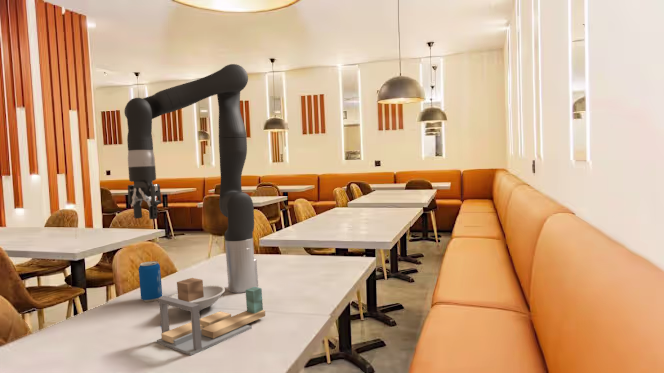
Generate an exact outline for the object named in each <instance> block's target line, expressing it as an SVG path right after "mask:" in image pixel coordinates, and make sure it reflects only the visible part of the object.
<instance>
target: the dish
mask: <svg viewBox="0 0 664 373" xmlns="http://www.w3.org/2000/svg"><path fill="white" fill-rule="evenodd" d="M225 291H226V288H225V287H224V286H223V285H214V284H213V285H211V284H210V285H203V293H204V297H202V298H199V299H196V300H193V301H190V302H191V303H195V304H199V305H200V309H199V312H200V311H201V312H202V310H203V309H206V308H208V307H210V306H213V304H215V303H216V302H217V301H218V300H219V299H220V298H221V296H222V294H224V293H225ZM170 297H171V298H175V299H178V292H177V293H175V294H172V295H170ZM179 309H180V310H182V311H188V310H184V309H181V308H179ZM188 312H189V311H188Z"/></svg>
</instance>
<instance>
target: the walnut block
mask: <svg viewBox="0 0 664 373" xmlns="http://www.w3.org/2000/svg"><path fill="white" fill-rule="evenodd" d="M203 281H204V280H203V279H200V278H196V277H190V278H187V279H183V280H179V281H176V289H177V293H178V299H179V300H183V301H187V302H190V301H193V300H196V299H199V298H202V297H204V293H203V286H204V282H203Z"/></svg>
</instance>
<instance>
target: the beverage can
mask: <svg viewBox="0 0 664 373" xmlns="http://www.w3.org/2000/svg"><path fill="white" fill-rule="evenodd" d="M161 272H162V271H161V265H160V264H159V261H157V260H152V261H151V260H149V261H145V262H141V263H139V267H138V278H139V279H138V280H139V289H140V290H139V291H140V292H139V293H140V300H142V301H143V302H144V303H145V302H146V303H148V302H150V303H151V302H155V301H158V298H161V297H163V287H162V274H161Z"/></svg>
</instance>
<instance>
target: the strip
mask: <svg viewBox="0 0 664 373" xmlns="http://www.w3.org/2000/svg"><path fill="white" fill-rule="evenodd" d="M262 290H263V289H262V288H261V287H252V288H249V289H246V292H245V300H246V303H245V304H246V310H244V311H243V312H240V313H237V314H235V315H231V317H229V318H227V319H224V320H222V321H219V322H217V323H214V324H212V325H209V326H207V327H204V328H202V329H201V331H202V335H204V336H207V337H210V338H216V337H218V336H220V335H223V334H225V333H227V332H230V331H232V330H234V329H237V328H239V327H241V326H244V325H249V324H250V323H253V322H254V321H255V322H256V321H258V320H259V319H263V318H265V317H266V310H265V309H264V306H263V291H262Z"/></svg>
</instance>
